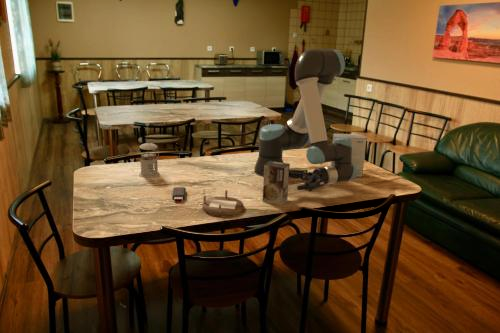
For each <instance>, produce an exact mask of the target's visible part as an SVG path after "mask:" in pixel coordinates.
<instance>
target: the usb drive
mask: <svg viewBox="0 0 500 333" xmlns="http://www.w3.org/2000/svg"><path fill="white" fill-rule="evenodd" d="M186 194H187V189H186V187H184V186H183V187H181V186H175V187H173V188H172V196H171V198H172V201H174V203H183V202H184V201H185V200H186Z"/></svg>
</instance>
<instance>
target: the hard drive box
mask: <svg viewBox="0 0 500 333" xmlns="http://www.w3.org/2000/svg"><path fill="white" fill-rule="evenodd" d="M338 137H347V138H350V139H351V141H352V164H354V165H355V166H356V169H357V171H358V173H357V177H356V178H358V177H359V178H362V177H363V173H364V172H363V171H364V164H365V157H366V148H367V142H368V141H367V137H366V136H365V134H358V133H356V134H354V133H353V134H352V133H333V135H332V144H333V143H334V139H335V138H338ZM330 166H334V161H331V162H330Z"/></svg>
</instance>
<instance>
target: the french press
mask: <svg viewBox="0 0 500 333" xmlns="http://www.w3.org/2000/svg"><path fill="white" fill-rule="evenodd" d="M150 125H151V124H150V123H149V122H146V123H145V126H146V127H147V130H146V131H147V133H149V127H148V126H150ZM139 149H141V150H144V151H145V150H146V151H147V152H143V153H141V154H140V158H139V159H140V160H139V161H140V172H139V173H138V175H139V177H141V178H144V179H145V178H146V179H150V178H157V177H159V176H161V173H160V171H159V170H158V159H159V156H160V154H159V150H158V145H157V144H155V143H152V142H145V143H142V144H141V145H139ZM150 150H151V151H153V150H154V152H149V151H150ZM156 150H157V153H156Z"/></svg>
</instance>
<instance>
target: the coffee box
mask: <svg viewBox="0 0 500 333" xmlns="http://www.w3.org/2000/svg"><path fill="white" fill-rule="evenodd" d="M289 170H290V163H287V162H283V163H281V162H275V161H269V162H267V163H266V164H265V165H264V176H263V186H262V187H263V189H262V202H266V203H269V204H276V205H280V206H283V205H285V203H286V202H288V196H289V195H288V194H289V182H290V181H289V180H290V178H289Z"/></svg>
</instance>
